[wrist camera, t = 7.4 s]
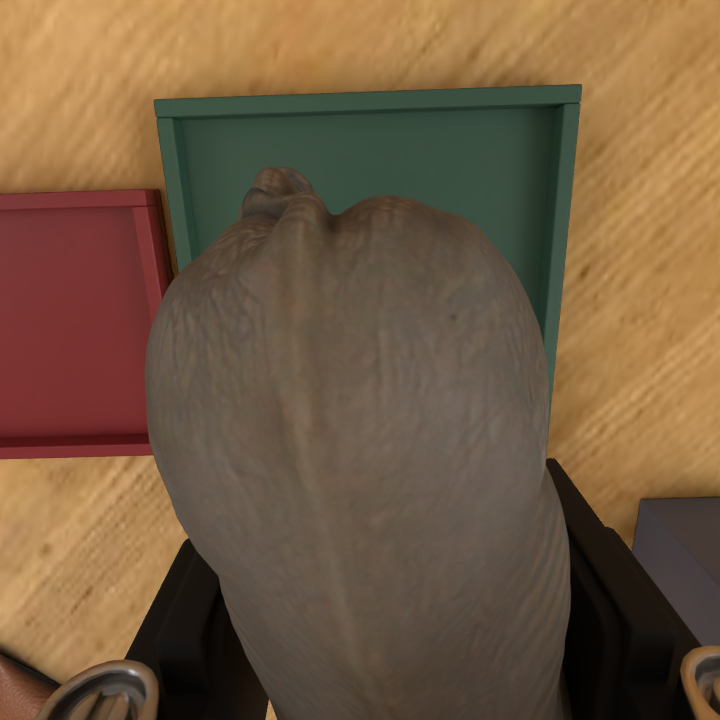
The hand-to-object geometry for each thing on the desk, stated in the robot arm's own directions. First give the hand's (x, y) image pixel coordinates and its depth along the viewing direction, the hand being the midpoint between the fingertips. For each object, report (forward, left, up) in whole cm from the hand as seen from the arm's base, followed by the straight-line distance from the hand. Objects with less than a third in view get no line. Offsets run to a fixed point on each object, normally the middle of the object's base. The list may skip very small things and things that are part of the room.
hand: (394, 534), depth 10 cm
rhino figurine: (0, 0, -1) cm, 1 cm away
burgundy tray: (-1, -14, -13) cm, 19 cm away
